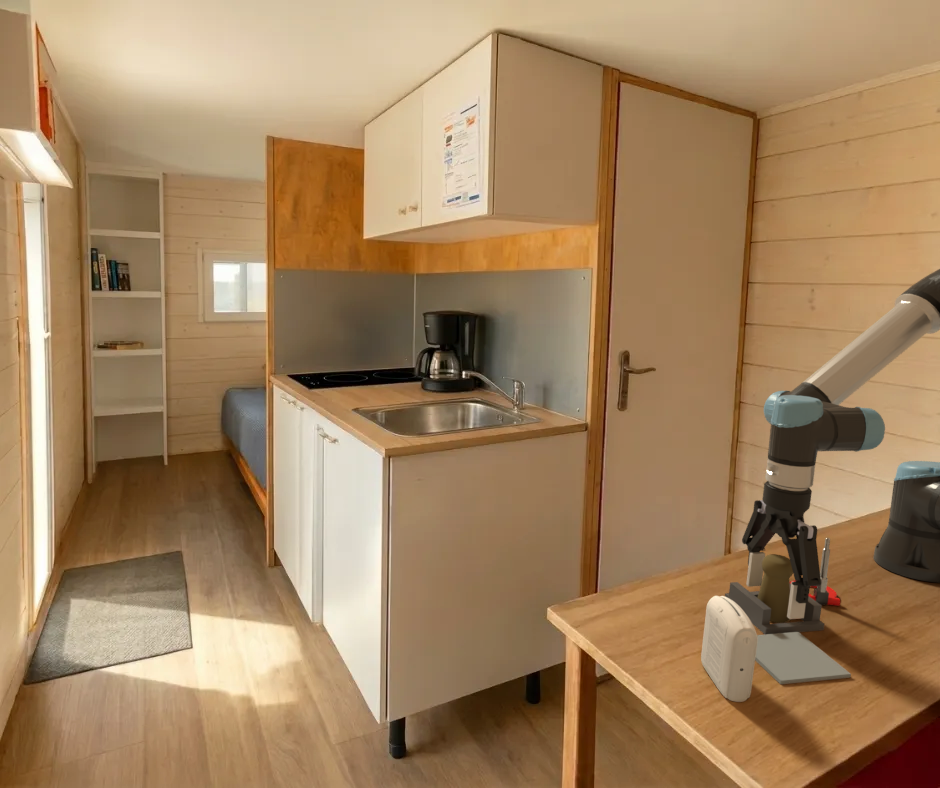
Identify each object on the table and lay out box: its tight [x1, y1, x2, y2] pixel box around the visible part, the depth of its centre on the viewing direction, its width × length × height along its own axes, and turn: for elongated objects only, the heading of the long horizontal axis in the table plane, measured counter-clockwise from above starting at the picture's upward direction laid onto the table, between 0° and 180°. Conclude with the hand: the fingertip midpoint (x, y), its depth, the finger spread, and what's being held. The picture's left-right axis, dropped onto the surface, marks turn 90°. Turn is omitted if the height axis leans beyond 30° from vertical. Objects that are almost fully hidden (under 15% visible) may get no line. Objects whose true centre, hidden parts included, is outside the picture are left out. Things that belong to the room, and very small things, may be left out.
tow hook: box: [789, 537, 841, 607], centre depth 125 cm, size 8×13×9 cm
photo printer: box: [700, 595, 758, 703], centre depth 97 cm, size 10×4×12 cm, turn 3°
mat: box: [755, 632, 852, 685], centre depth 104 cm, size 12×12×1 cm
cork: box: [758, 553, 794, 624], centre depth 117 cm, size 6×6×11 cm
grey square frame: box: [724, 581, 825, 635], centre depth 117 cm, size 11×12×4 cm
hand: (773, 600), depth 117 cm, fingers open, 11 cm apart
